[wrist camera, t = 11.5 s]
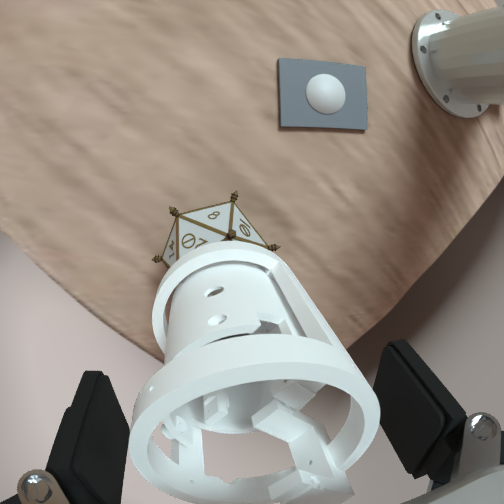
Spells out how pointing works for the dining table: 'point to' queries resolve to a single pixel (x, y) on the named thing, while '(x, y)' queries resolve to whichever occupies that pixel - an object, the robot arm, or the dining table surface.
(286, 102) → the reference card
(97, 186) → the dining table surface
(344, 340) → the dining table surface
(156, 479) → the white cylindrical housing
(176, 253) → the game die
